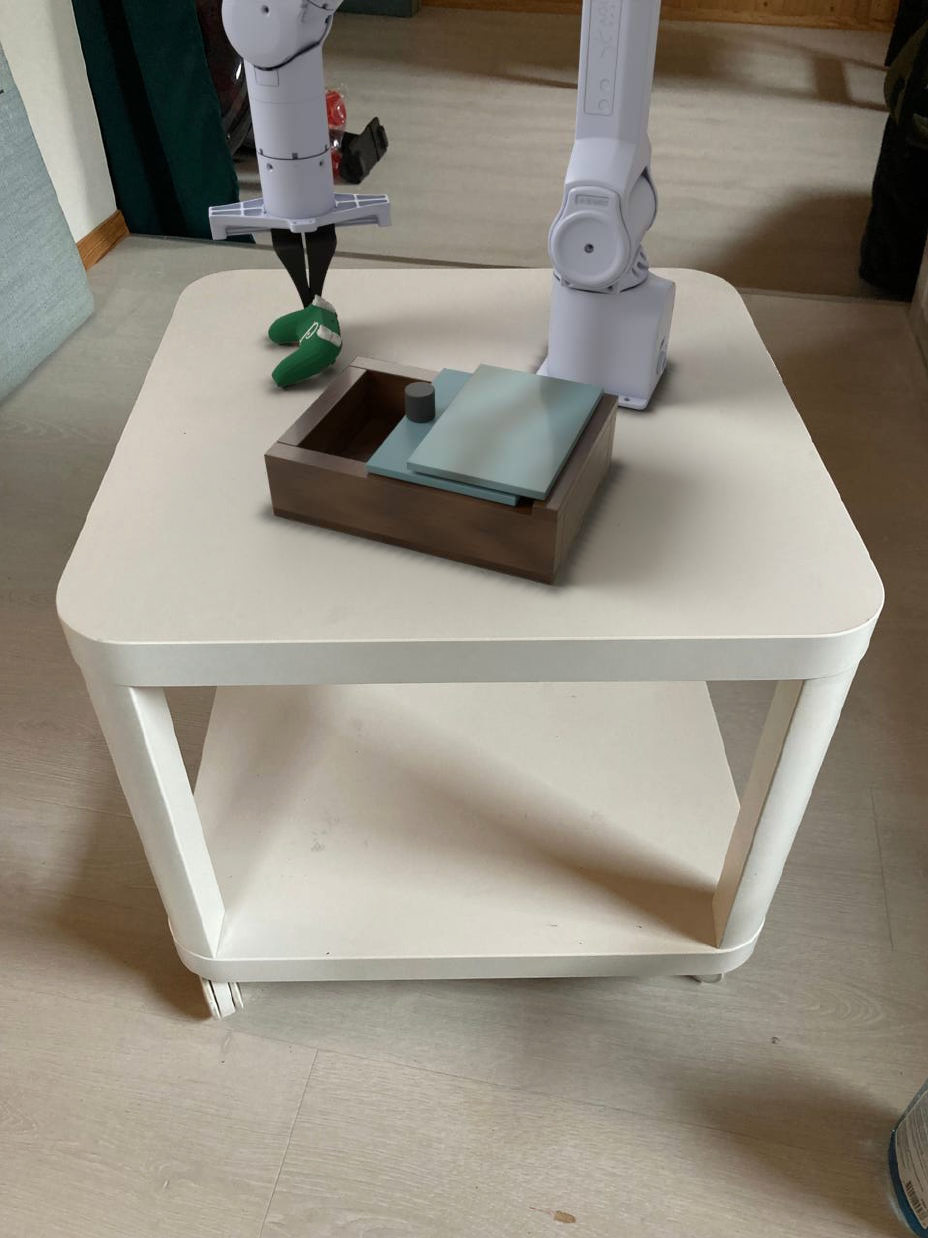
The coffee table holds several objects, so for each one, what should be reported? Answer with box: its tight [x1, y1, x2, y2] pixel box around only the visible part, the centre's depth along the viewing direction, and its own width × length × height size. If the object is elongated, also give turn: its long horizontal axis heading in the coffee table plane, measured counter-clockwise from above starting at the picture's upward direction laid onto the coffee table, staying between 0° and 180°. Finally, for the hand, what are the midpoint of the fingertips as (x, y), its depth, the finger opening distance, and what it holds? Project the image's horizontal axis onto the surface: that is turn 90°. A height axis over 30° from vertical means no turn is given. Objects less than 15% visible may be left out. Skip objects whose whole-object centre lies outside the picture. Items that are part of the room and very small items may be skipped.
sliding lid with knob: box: [366, 367, 521, 506], centre depth 64 cm, size 10×13×3 cm
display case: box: [263, 355, 619, 586], centre depth 67 cm, size 20×14×7 cm
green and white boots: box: [267, 295, 344, 388], centre depth 81 cm, size 9×4×6 cm
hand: (312, 311), depth 86 cm, fingers closed
